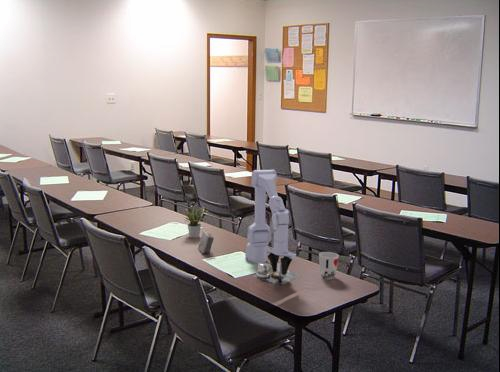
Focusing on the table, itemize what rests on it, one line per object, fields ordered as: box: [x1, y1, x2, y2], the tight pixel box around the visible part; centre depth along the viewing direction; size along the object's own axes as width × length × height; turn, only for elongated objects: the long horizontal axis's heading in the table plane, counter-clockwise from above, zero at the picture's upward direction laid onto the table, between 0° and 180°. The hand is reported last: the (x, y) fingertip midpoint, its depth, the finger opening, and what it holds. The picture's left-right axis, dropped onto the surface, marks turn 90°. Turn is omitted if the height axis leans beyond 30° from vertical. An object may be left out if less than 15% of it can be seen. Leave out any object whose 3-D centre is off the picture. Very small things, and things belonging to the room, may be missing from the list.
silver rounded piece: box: [255, 262, 270, 279], centre depth 219 cm, size 6×6×5 cm
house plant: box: [183, 206, 209, 238], centre depth 277 cm, size 14×14×16 cm
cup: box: [318, 251, 339, 280], centre depth 222 cm, size 8×8×10 cm
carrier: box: [252, 267, 303, 286], centre depth 219 cm, size 15×15×4 cm
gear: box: [274, 260, 290, 276], centre depth 213 cm, size 6×6×5 cm
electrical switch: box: [197, 230, 215, 255], centre depth 253 cm, size 9×5×9 cm, turn 18°
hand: (279, 273), depth 212 cm, fingers closed on gear, 4 cm apart
